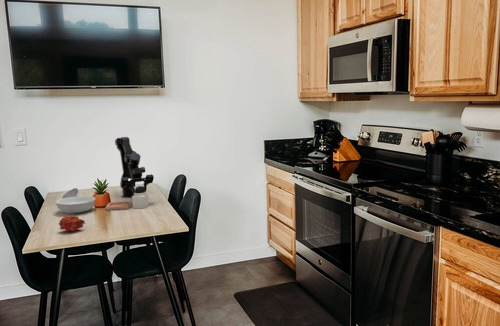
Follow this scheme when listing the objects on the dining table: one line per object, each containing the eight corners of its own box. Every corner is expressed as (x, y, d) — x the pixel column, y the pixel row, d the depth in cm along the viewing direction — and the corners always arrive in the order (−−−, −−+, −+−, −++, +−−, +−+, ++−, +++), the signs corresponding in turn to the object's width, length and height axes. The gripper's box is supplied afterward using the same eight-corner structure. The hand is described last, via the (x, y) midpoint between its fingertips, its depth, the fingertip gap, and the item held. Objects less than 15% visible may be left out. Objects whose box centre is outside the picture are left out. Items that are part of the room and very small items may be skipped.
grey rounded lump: (79, 209, 267) (79, 197, 262) (61, 209, 264) (61, 197, 258) (79, 198, 276) (80, 185, 271) (62, 198, 272) (62, 185, 267)
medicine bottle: (148, 205, 253) (147, 185, 252) (144, 208, 246) (143, 188, 245) (137, 205, 254) (135, 185, 252) (132, 208, 247) (131, 188, 245)
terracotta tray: (105, 210, 243) (105, 207, 243) (109, 205, 255) (109, 202, 255) (128, 209, 245) (127, 206, 245) (130, 204, 257) (130, 201, 257)
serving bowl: (80, 217, 231) (79, 205, 230) (48, 215, 237) (47, 203, 236) (103, 207, 251) (103, 196, 250) (74, 206, 257) (73, 195, 256)
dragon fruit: (58, 234, 207) (84, 236, 209) (55, 228, 199) (82, 230, 202) (61, 218, 211) (87, 219, 213) (58, 211, 203) (85, 213, 206)
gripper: (119, 164, 246) (125, 186, 238) (151, 161, 254) (158, 182, 246) (118, 175, 254) (123, 197, 246) (149, 172, 262) (155, 193, 254)
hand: (140, 192), depth 248 cm, fingers closed on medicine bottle, 6 cm apart
